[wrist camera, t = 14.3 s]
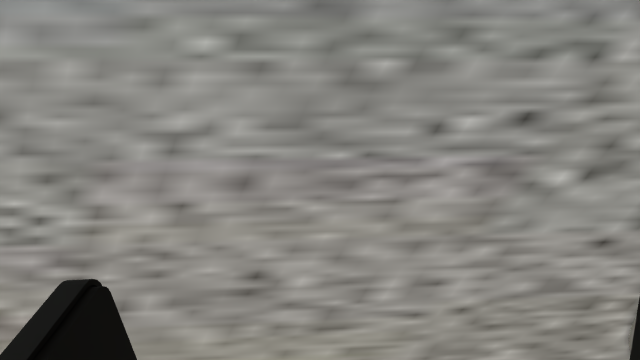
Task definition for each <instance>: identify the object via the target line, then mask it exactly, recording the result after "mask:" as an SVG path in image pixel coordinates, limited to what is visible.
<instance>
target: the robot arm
mask: <svg viewBox="0 0 640 360" xmlns="http://www.w3.org/2000/svg"><path fill="white" fill-rule="evenodd" d="M629 348H630V352H631V354H630V360H640V298H639V304H638V310H637V316H636V318H635V320H634V322H633V324H632V327H631V330H630V335H629ZM0 360H137V358H136V356H135V353H134V351H133V348H132V346H131V343H130V340H129V338H128V335H127V333H126V330H125V328H124V325H123V323H122V320H121V318H120V315H119V313H118V310H117V307H116V305H115V302H114V300H113V297H112V295H111V292H110V291H109V289H108V288H107V287H104V286H102V285H101V283H100V282H99V281H98V280H95V279H85V280H67V281H64V282H62V283H61V284H60V285H59V286H58V287H57V288H56V289H55V290H54V292H53V293H52V294H51V295H50V296H49V298H48V299H47V300H46V301H45V302H44V303H43V305H42V306H41V307H40V308H39V309H38V311H37V312H36V313H35V314H34V315H33V317H32V318H31V319H30V320H29V321H28V323H27V324H26V325H25V326H24V327H23V328H22V330H21V331H20V332H19V333H18V334H17V336H16V337H15V338H14V339H13V340H12V342H11V343H10V344H9V345H8V346H7V348H6V349H5V350H4V351H3V352H2V353H1V355H0Z"/></svg>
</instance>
